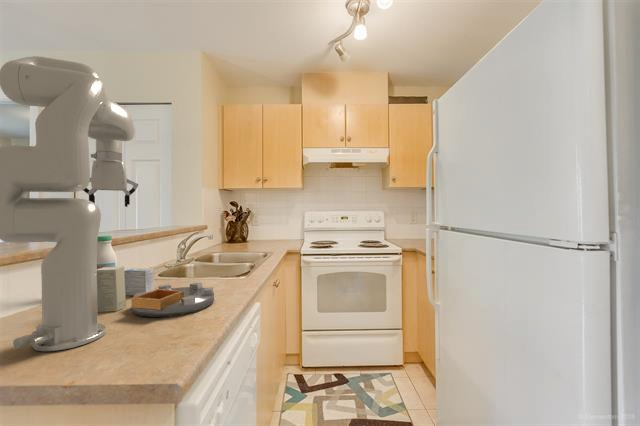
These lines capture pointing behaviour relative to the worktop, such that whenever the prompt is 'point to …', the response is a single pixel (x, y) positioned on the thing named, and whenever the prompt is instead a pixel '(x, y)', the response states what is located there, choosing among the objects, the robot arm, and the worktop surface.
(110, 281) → the skincare box
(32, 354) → the worktop surface
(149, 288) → the medicine box
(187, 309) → the round grey platter
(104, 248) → the milk bottle
